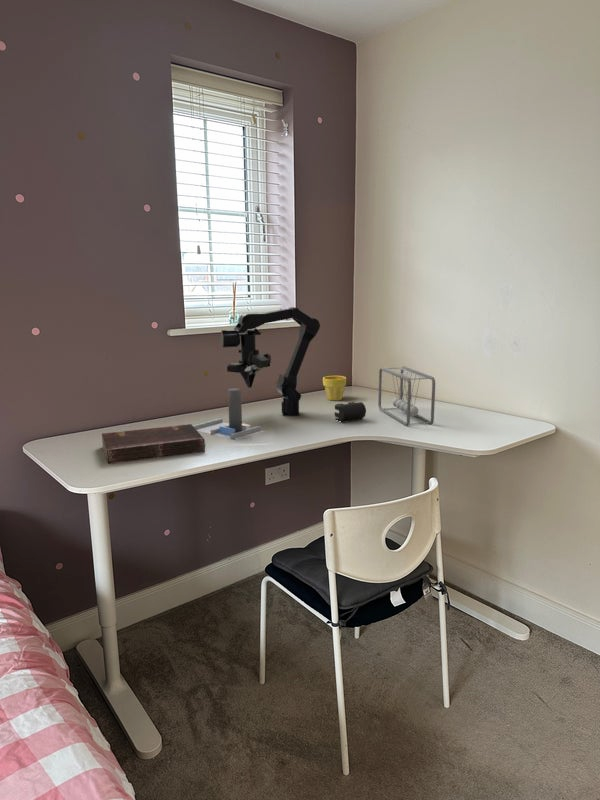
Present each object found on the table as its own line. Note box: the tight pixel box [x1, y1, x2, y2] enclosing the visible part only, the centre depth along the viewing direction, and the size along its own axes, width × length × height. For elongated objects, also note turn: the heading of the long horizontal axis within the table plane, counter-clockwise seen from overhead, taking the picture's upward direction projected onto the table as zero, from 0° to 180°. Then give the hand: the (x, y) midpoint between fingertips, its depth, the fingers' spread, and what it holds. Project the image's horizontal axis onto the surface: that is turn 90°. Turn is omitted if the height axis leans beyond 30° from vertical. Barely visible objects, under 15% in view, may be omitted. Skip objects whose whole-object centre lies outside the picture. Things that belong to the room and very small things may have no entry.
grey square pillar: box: [227, 387, 243, 433], centre depth 198 cm, size 4×4×15 cm
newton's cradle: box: [377, 366, 436, 427], centre depth 220 cm, size 30×10×18 cm, turn 13°
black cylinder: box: [334, 401, 367, 423], centre depth 216 cm, size 10×7×7 cm
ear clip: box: [242, 422, 251, 430], centre depth 202 cm, size 4×2×1 cm, turn 52°
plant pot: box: [322, 375, 347, 401], centre depth 254 cm, size 10×10×10 cm
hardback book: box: [101, 423, 206, 465], centre depth 182 cm, size 29×19×5 cm, turn 113°
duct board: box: [192, 417, 265, 441], centre depth 202 cm, size 24×14×3 cm, turn 52°
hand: (249, 387), depth 219 cm, fingers closed
